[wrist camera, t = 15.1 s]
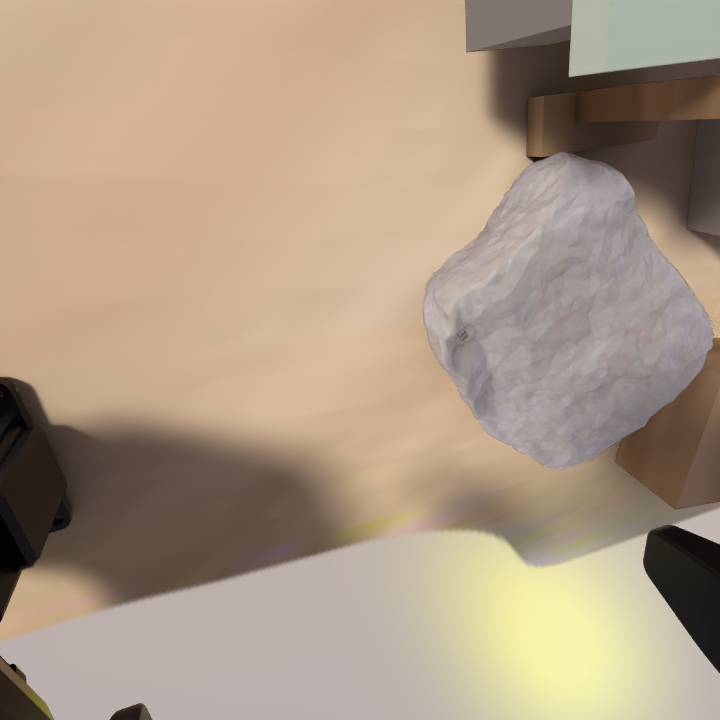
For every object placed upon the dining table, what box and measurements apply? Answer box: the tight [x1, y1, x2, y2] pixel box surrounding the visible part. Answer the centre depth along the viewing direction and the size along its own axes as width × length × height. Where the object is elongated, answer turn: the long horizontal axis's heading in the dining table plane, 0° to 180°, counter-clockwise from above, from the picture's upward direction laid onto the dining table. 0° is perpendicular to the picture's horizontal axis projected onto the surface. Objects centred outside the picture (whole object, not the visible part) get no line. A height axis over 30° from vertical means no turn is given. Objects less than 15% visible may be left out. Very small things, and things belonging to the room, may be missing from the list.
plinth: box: [616, 338, 720, 509], centre depth 26 cm, size 7×7×4 cm
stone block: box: [423, 152, 714, 469], centre depth 22 cm, size 12×5×10 cm
